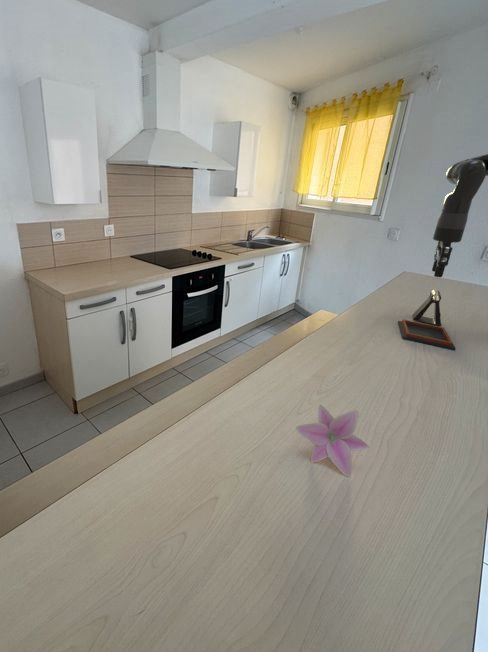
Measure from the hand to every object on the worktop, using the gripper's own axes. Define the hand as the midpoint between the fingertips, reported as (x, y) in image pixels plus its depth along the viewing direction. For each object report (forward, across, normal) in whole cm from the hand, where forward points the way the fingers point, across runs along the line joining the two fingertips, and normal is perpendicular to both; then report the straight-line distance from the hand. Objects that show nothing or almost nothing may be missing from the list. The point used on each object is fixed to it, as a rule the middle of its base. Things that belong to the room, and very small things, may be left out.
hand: (436, 274), depth 112 cm
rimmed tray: (+21, -5, -1) cm, 22 cm away
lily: (+22, -81, +19) cm, 86 cm away
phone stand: (+21, +11, -2) cm, 24 cm away
